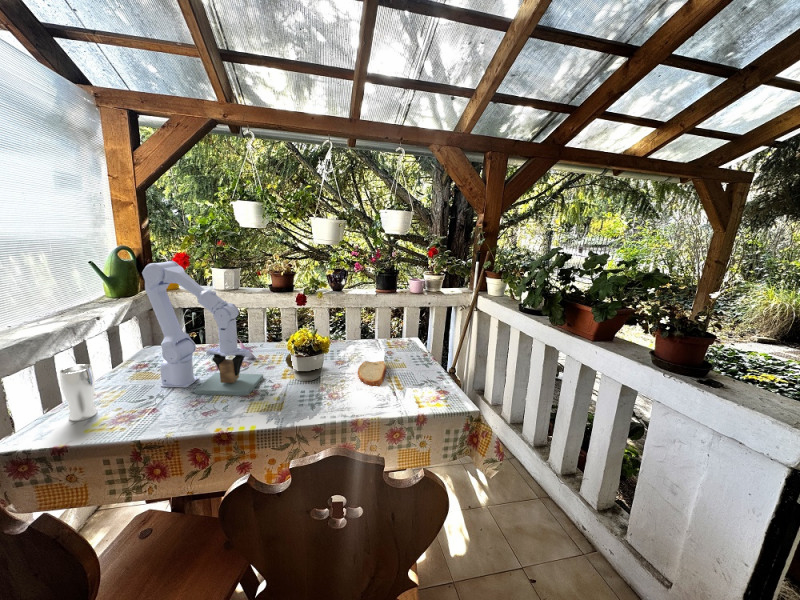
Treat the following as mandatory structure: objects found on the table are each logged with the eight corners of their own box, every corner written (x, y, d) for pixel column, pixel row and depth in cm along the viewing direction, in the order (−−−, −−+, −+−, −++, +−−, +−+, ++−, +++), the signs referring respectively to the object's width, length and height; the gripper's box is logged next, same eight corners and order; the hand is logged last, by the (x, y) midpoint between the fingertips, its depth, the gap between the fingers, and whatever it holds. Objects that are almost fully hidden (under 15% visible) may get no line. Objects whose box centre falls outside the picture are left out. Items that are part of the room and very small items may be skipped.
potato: (317, 375, 134) (316, 356, 132) (284, 374, 133) (283, 355, 131) (320, 366, 142) (320, 348, 140) (289, 366, 141) (289, 348, 139)
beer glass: (80, 409, 102) (73, 363, 99) (105, 409, 103) (98, 363, 100) (60, 422, 96) (51, 373, 93) (86, 422, 96) (78, 373, 93)
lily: (252, 366, 141) (261, 345, 143) (223, 358, 137) (233, 335, 140) (253, 364, 152) (261, 344, 154) (226, 356, 148) (235, 336, 150)
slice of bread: (374, 389, 125) (374, 380, 124) (343, 374, 136) (343, 365, 135) (405, 375, 138) (405, 366, 137) (374, 362, 149) (374, 354, 149)
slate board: (194, 393, 115) (194, 389, 114) (216, 376, 128) (215, 372, 128) (247, 395, 115) (247, 391, 115) (263, 377, 129) (263, 374, 129)
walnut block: (220, 382, 119) (219, 364, 117) (226, 376, 123) (225, 359, 121) (233, 383, 119) (232, 364, 117) (239, 377, 123) (237, 359, 121)
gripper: (200, 341, 114) (203, 378, 117) (243, 342, 114) (245, 379, 117) (211, 335, 121) (214, 370, 124) (252, 336, 121) (253, 371, 124)
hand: (230, 374), depth 121 cm, fingers closed on walnut block, 4 cm apart
